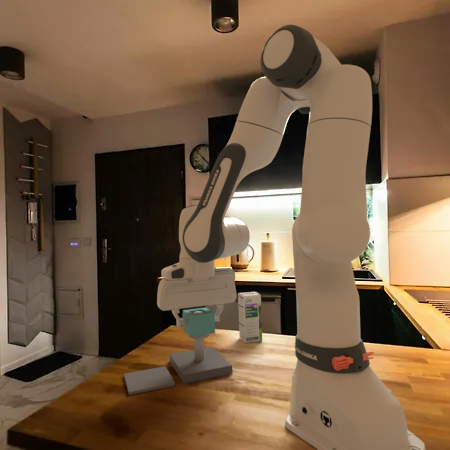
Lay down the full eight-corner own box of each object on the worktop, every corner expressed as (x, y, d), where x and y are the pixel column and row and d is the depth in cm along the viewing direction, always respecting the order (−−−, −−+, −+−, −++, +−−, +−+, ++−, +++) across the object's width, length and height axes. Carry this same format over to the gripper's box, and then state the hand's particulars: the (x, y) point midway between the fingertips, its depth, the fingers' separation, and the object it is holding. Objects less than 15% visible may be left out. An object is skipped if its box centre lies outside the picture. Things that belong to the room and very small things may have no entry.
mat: (175, 385, 74) (175, 382, 74) (128, 395, 70) (128, 392, 70) (165, 368, 83) (165, 366, 83) (124, 376, 79) (124, 373, 79)
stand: (232, 373, 79) (231, 315, 79) (183, 383, 75) (182, 322, 75) (212, 353, 92) (211, 304, 92) (169, 361, 88) (168, 309, 88)
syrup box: (244, 343, 100) (243, 295, 100) (238, 337, 105) (237, 292, 106) (262, 341, 101) (261, 294, 102) (255, 335, 107) (254, 290, 107)
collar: (215, 333, 82) (214, 312, 82) (190, 337, 79) (189, 316, 79) (206, 326, 88) (206, 307, 88) (183, 329, 85) (182, 310, 85)
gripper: (230, 265, 91) (231, 315, 90) (155, 270, 83) (156, 325, 83) (239, 267, 85) (241, 321, 85) (160, 273, 77) (161, 332, 77)
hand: (198, 323), depth 83 cm, fingers open, 8 cm apart
